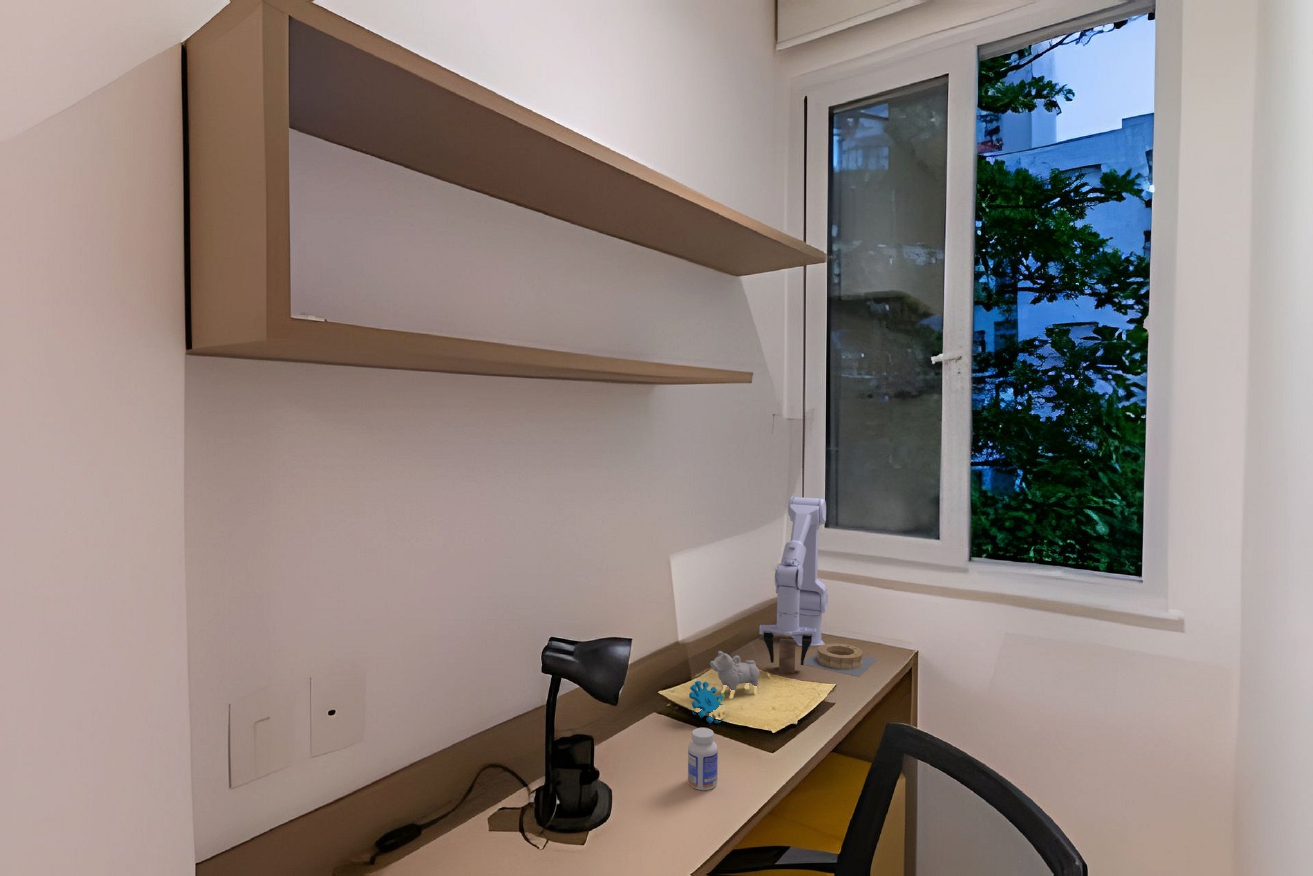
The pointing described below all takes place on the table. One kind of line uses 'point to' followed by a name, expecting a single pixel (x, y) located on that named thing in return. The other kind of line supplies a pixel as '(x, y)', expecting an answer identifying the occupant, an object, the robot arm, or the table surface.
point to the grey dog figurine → (735, 670)
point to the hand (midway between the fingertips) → (787, 662)
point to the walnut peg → (787, 656)
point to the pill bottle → (702, 760)
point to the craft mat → (855, 672)
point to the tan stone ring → (840, 656)
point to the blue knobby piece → (705, 699)
